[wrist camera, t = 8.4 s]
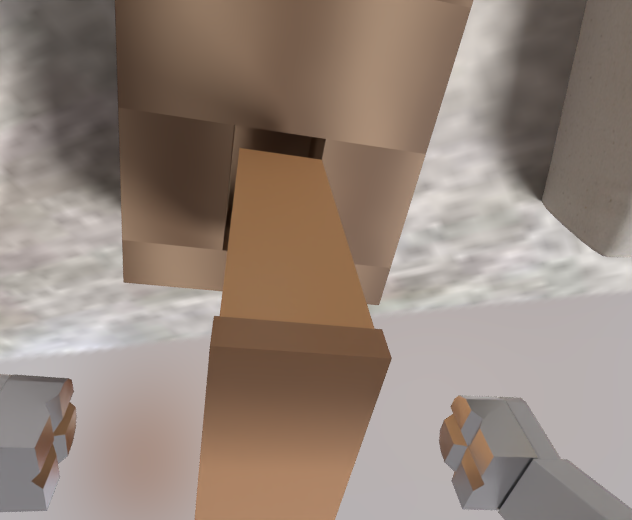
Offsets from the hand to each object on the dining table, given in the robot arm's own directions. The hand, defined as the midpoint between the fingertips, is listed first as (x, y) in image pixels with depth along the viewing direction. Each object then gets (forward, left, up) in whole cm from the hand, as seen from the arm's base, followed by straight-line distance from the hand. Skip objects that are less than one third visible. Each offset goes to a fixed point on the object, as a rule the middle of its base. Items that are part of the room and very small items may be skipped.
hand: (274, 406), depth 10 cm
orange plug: (0, 0, -10) cm, 10 cm away
